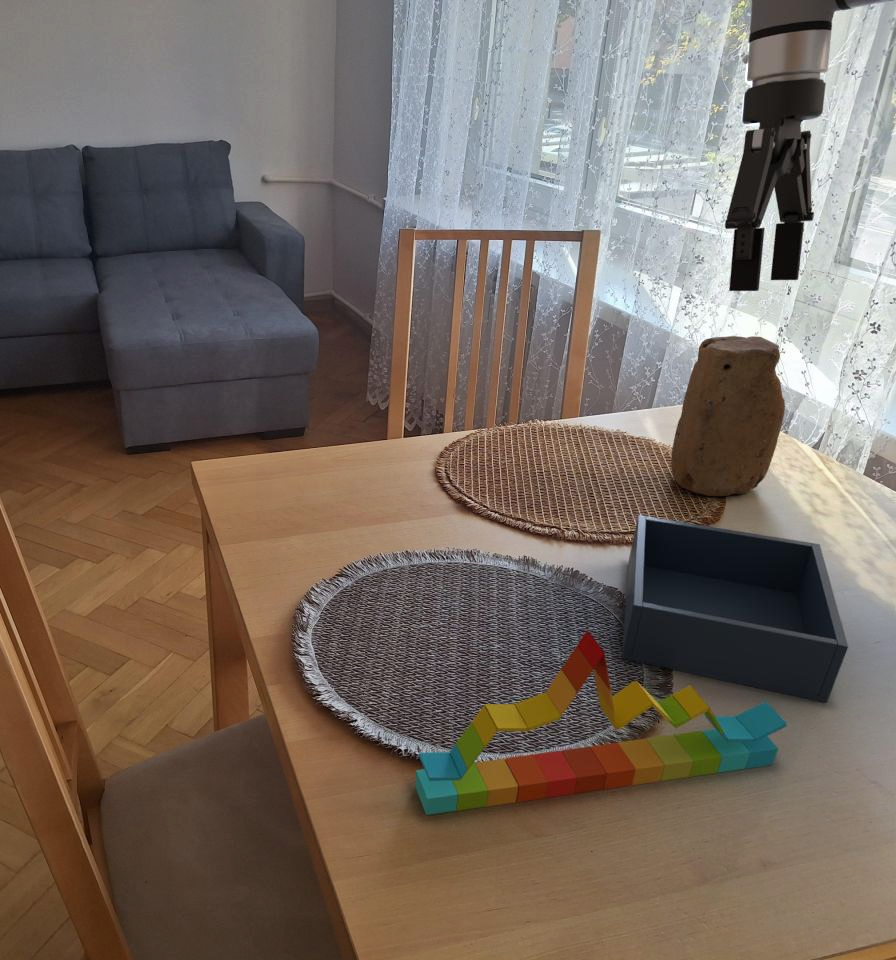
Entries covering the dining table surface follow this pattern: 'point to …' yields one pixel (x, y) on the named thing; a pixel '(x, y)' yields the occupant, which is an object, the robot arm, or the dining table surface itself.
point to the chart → (596, 767)
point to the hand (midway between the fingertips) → (764, 285)
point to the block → (729, 417)
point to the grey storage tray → (732, 608)
